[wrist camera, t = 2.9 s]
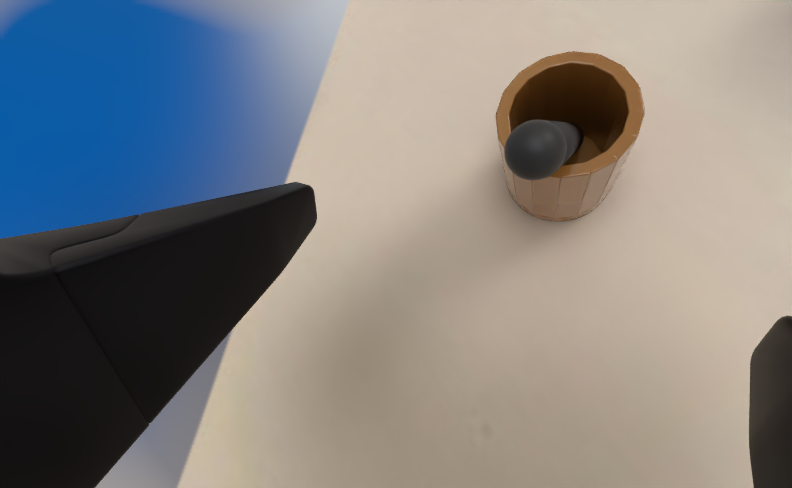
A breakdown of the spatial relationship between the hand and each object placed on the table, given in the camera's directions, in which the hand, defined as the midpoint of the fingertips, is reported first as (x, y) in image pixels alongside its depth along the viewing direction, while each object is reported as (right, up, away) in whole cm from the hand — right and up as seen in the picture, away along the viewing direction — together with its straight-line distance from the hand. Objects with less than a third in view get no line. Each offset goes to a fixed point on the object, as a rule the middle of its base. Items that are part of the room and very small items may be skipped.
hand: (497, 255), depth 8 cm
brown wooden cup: (+5, +3, +10) cm, 12 cm away
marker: (+5, +2, +10) cm, 11 cm away
